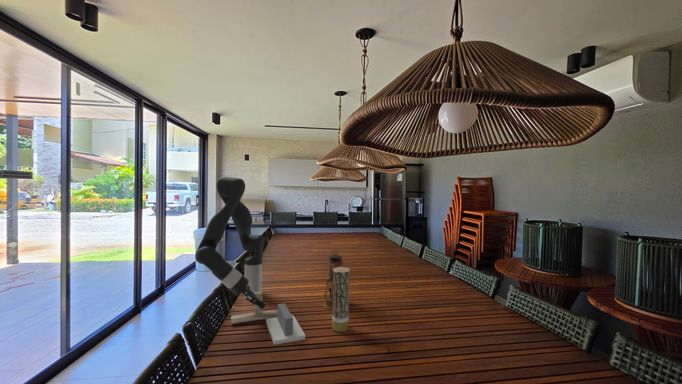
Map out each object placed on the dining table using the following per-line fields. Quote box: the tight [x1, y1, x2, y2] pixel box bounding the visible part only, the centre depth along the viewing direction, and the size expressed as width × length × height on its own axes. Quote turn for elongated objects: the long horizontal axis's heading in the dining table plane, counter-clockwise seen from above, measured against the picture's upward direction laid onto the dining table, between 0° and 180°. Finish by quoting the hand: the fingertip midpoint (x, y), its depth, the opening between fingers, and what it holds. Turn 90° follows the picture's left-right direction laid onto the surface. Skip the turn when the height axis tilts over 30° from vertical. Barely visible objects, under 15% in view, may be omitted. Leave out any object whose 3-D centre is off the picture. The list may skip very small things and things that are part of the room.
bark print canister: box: [331, 266, 351, 333], centre depth 117 cm, size 7×7×25 cm
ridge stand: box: [265, 303, 306, 346], centre depth 115 cm, size 20×12×8 cm, turn 23°
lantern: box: [322, 249, 344, 311], centre depth 143 cm, size 17×13×30 cm
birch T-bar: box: [230, 291, 278, 324], centre depth 123 cm, size 3×22×11 cm, turn 113°
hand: (263, 305), depth 124 cm, fingers closed on birch T-bar, 3 cm apart
